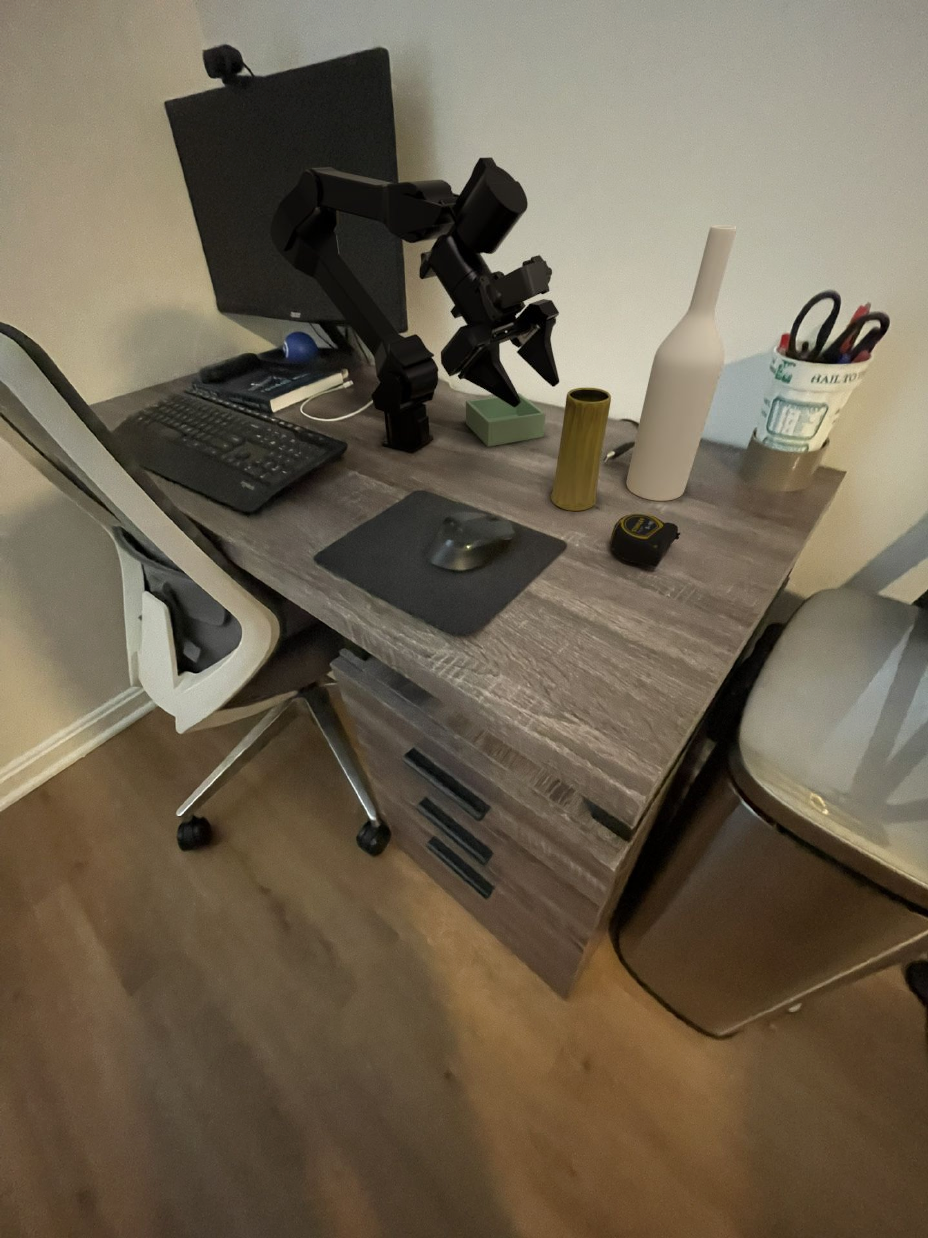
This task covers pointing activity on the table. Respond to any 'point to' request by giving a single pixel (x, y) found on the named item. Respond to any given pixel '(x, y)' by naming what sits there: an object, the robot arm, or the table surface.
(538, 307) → the robot arm
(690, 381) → the bottle
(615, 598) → the table surface
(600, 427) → the vase
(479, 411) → the green open-top tray
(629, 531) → the tape measure
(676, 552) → the table surface
